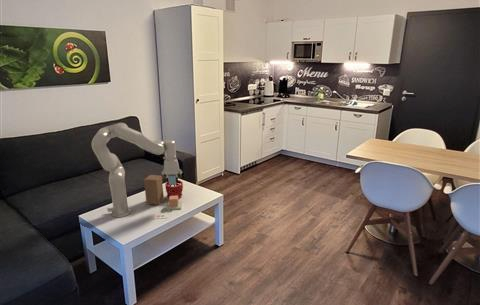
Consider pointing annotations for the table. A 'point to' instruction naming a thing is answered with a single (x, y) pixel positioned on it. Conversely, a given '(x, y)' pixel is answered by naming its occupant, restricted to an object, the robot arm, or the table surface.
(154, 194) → the wooden block
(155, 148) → the robot arm
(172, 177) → the brick teal
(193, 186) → the table surface
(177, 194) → the plant pot
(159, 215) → the page
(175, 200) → the brick terracotta
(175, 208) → the build plate
